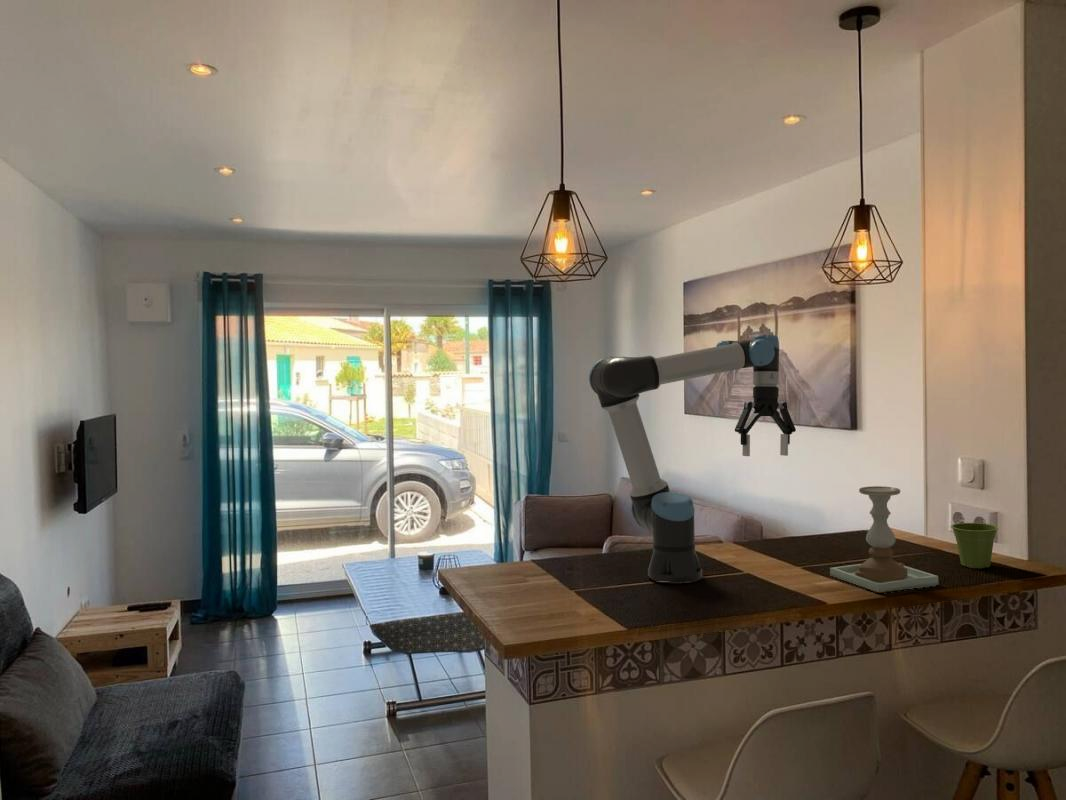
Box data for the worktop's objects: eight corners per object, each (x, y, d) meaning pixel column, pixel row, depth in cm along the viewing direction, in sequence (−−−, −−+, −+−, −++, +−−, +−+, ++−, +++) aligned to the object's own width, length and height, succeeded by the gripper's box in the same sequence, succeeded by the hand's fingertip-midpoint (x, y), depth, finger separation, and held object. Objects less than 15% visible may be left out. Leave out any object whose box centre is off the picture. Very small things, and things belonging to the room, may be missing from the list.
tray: (877, 594, 211) (877, 584, 211) (830, 576, 229) (829, 567, 229) (938, 585, 217) (938, 576, 217) (887, 569, 235) (887, 560, 235)
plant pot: (987, 560, 240) (986, 521, 240) (1006, 570, 228) (1006, 530, 228) (944, 561, 241) (944, 522, 241) (961, 571, 229) (961, 531, 229)
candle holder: (897, 584, 215) (895, 493, 214) (854, 579, 222) (852, 490, 221) (908, 575, 224) (906, 487, 223) (866, 570, 231) (864, 484, 230)
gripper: (737, 385, 245) (736, 457, 245) (807, 386, 253) (807, 455, 253) (723, 385, 252) (722, 455, 252) (792, 386, 260) (791, 454, 260)
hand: (765, 455), depth 253 cm, fingers open, 13 cm apart
